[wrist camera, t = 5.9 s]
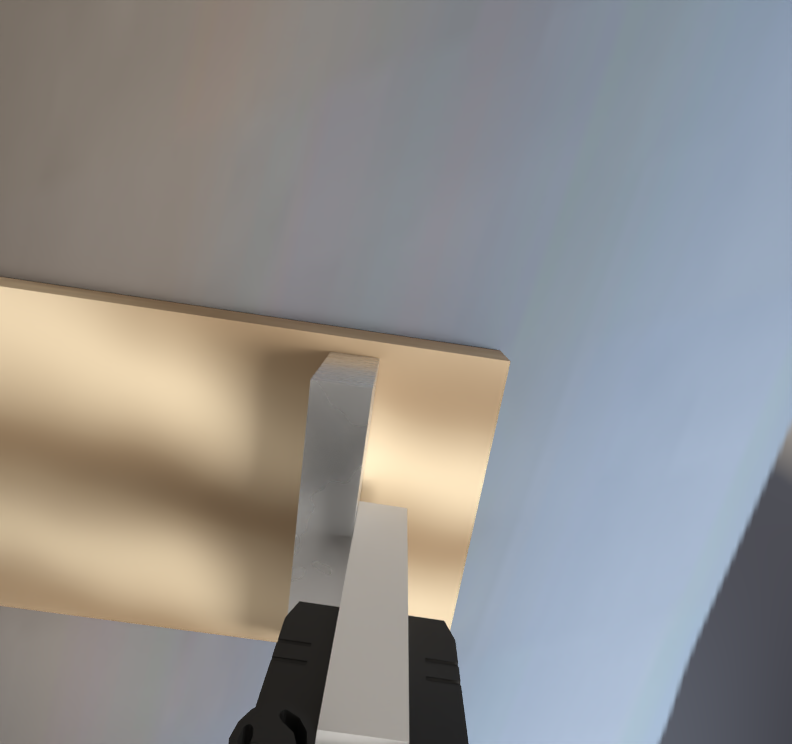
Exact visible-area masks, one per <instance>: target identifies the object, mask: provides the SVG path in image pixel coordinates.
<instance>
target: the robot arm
mask: <svg viewBox="0 0 792 744" xmlns="http://www.w3.org/2000/svg"><path fill="white" fill-rule="evenodd" d="M229 744H468V736H467V729H466V721H465V713H464V705H463V698H462V690H461V686H460V674H459V667H458V659H457V651H456V643H455V639H454V637H453V636H452V634H451V632H450V630H449V628H448V627H447V625H446V623H445V621H444V620H437V619H430V618H423V617H416V616H409V615H408V541H407V508H403V507H396V506H389V505H383V504H376V503H369V502H363V501H359V505H358V510H357V516H356V521H355V526H354V532H353V537H352V543H351V548H350V554H349V559H348V564H347V570H346V575H345V581H344V586H343V592H342V597H341V602H340V607H336V606H329V605H322V604H315V603H308V602H302V601H299V602H298V603H297V604H296V606H295V607H294V608H293V609H292V610H291V611H290V612H289V614H288V615H287V616H286V617H285V619H284V622H283V625H282V628H281V631H280V634H279V637H278V641H277V643H276V646H275V649H274V652H273V656H272V660H271V662H270V665H269V668H268V671H267V674H266V677H265V680H264V683H263V686H262V689H261V692H260V695H259V698H258V701H257V704H256V707H255V708H253V709H252V710H250V711H249V712H248V713H247V714H246V715H245V716H244V717H243V718H242V719H241V720H240V721H239V722H238V723H237V725H236V727H235V729H234V730H233V732H232V734H231V736H230V738H229Z"/></svg>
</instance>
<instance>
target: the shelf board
mask: <svg viewBox="0 0 792 744" xmlns="http://www.w3.org/2000/svg"><path fill="white" fill-rule="evenodd" d="M330 352H337V353H344V354H351V355H358V356H365V357H372V358H378V359H380V360H379V367H378V374H377V381H376V388H375V395H374V403H373V410H372V417H371V424H370V431H369V438H368V445H367V453H366V460H365V467H364V474H363V481H362V488H361V495H360V501H363V502H369V503H376V504H383V505H389V506H396V507H403V508H407V541H408V615H409V616H416V617H423V618H430V619H437V620H444V621H445V623H446V625H447V627H448V628H449V630H450V628H451V624H452V619H453V615H454V610H455V606H456V602H457V597H458V593H459V588H460V584H461V579H462V575H463V570H464V566H465V561H466V557H467V553H468V548H469V544H470V539H471V535H472V530H473V526H474V521H475V517H476V512H477V508H478V504H479V499H480V495H481V490H482V486H483V481H484V477H485V472H486V468H487V463H488V459H489V455H490V450H491V446H492V441H493V437H494V432H495V428H496V423H497V419H498V414H499V410H500V406H501V401H502V397H503V392H504V388H505V383H506V379H507V374H508V370H509V365H510V360H509V359H508V358H507V357H506V356H505V355H504V354H503V353H502V352H501V351H499V350H492V349H486V348H479V347H472V346H465V345H459V344H452V343H445V342H438V341H431V340H425V339H418V338H411V337H404V336H398V335H391V334H384V333H377V332H371V331H364V330H357V329H350V328H343V327H337V326H330V325H323V324H316V323H310V322H303V321H296V320H289V319H283V318H276V317H269V316H262V315H256V314H249V313H242V312H235V311H228V310H222V309H215V308H208V307H201V306H195V305H188V304H181V303H174V302H168V301H161V300H154V299H147V298H140V297H134V296H127V295H120V294H113V293H107V292H100V291H93V290H86V289H80V288H73V287H66V286H59V285H53V284H46V283H39V282H32V281H25V280H19V279H12V278H5V277H0V606H6V607H14V608H21V609H29V610H36V611H44V612H52V613H59V614H67V615H74V616H82V617H89V618H97V619H104V620H112V621H120V622H127V623H135V624H142V625H150V626H157V627H165V628H172V629H180V630H188V631H195V632H203V633H210V634H218V635H225V636H233V637H240V638H248V639H256V640H263V641H271V642H277V641H278V637H279V634H280V631H281V628H282V625H283V622H284V619H285V617H286V616H287V615H288V606H289V596H290V585H291V575H292V565H293V554H294V544H295V534H296V523H297V513H298V503H299V493H300V482H301V472H302V462H303V451H304V441H305V431H306V420H307V410H308V400H309V389H310V379H311V378H312V377H313V375H314V374H315V373H316V371H317V370H318V369H319V367H320V366H321V364H322V363H323V362H324V360H325V359H326V358H327V356H328V355H329V354H330Z"/></svg>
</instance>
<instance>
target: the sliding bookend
mask: <svg viewBox="0 0 792 744" xmlns="http://www.w3.org/2000/svg"><path fill="white" fill-rule="evenodd" d="M379 360H380V359H378V358H372V357H365V356H358V355H351V354H344V353H337V352H330V354H329V355H328V356H327V358H326V359H325V360H324V362H323V363H322V364H321V366H320V367H319V369H318V370H317V371H316V373H315V374H314V375H313V377H312V378H311V379H310V389H309V400H308V410H307V420H306V431H305V441H304V451H303V462H302V472H301V482H300V493H299V503H298V513H297V523H296V534H295V544H294V554H293V565H292V575H291V585H290V596H289V606H288V614H289V612H290V611H291V610H292V609H293V608H294V607H295V606H296V604H297V603H298V602H299V601H302V602H308V603H315V604H322V605H329V606H336V607H340V602H341V597H342V592H343V586H344V581H345V575H346V570H347V564H348V559H349V554H350V548H351V543H352V537H353V532H354V526H355V521H356V516H357V510H358V505H359V501H360V495H361V488H362V481H363V474H364V467H365V460H366V453H367V445H368V438H369V431H370V424H371V417H372V410H373V403H374V395H375V388H376V381H377V374H378V367H379Z"/></svg>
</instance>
